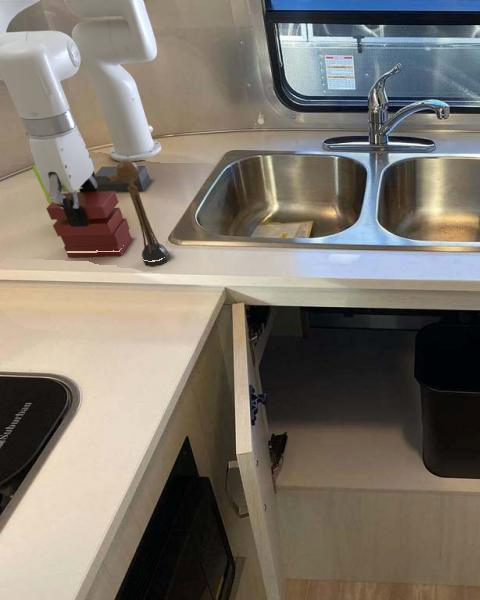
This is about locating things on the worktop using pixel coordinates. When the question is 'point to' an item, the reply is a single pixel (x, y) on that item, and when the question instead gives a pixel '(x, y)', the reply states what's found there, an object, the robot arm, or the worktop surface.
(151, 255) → the wooden tabletop sculpture
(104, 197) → the red book
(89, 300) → the worktop surface
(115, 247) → the red books
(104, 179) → the grey books
